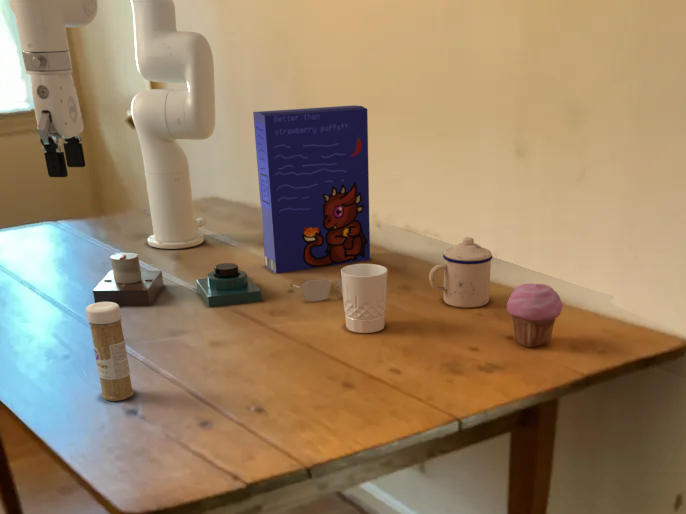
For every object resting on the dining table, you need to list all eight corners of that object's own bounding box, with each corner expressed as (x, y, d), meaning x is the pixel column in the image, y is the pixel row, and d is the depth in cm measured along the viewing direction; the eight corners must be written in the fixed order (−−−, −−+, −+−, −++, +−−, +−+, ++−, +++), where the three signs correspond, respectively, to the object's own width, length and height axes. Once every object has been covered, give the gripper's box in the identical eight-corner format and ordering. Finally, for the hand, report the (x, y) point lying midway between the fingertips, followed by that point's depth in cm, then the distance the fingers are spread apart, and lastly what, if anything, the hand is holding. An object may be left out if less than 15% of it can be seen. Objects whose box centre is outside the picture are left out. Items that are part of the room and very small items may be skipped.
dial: (118, 276, 173) (113, 251, 171) (144, 276, 174) (140, 250, 171) (111, 284, 169) (107, 258, 167) (138, 283, 169) (134, 258, 167)
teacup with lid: (478, 292, 176) (481, 230, 169) (497, 305, 168) (501, 242, 162) (420, 298, 172) (421, 235, 166) (437, 312, 165) (439, 247, 159)
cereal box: (357, 253, 199) (354, 104, 183) (370, 259, 195) (367, 107, 179) (265, 266, 190) (253, 110, 174) (276, 273, 186) (264, 114, 170)
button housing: (197, 289, 177) (194, 268, 175) (247, 284, 180) (245, 263, 178) (209, 307, 167) (206, 285, 165) (262, 301, 170) (260, 280, 168)
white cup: (394, 322, 160) (393, 265, 155) (378, 337, 154) (377, 278, 148) (352, 317, 162) (351, 261, 157) (335, 331, 156) (333, 273, 151)
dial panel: (113, 286, 178) (110, 270, 177) (163, 285, 179) (161, 269, 177) (95, 306, 167) (92, 289, 166) (149, 306, 168) (147, 289, 166)
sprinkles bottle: (96, 396, 132) (78, 306, 125) (122, 387, 135) (106, 298, 128) (114, 404, 129) (97, 313, 122) (140, 395, 132) (125, 305, 125)
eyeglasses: (300, 303, 169) (298, 281, 167) (289, 294, 176) (287, 273, 174) (370, 295, 174) (369, 273, 172) (356, 286, 180) (355, 266, 179)
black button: (213, 274, 173) (212, 264, 172) (236, 272, 174) (235, 262, 173) (217, 280, 169) (216, 270, 168) (241, 278, 171) (240, 268, 169)
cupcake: (523, 355, 146) (528, 294, 141) (495, 339, 153) (498, 280, 148) (568, 347, 150) (574, 287, 145) (538, 331, 156) (543, 273, 151)
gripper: (52, 67, 144) (73, 181, 153) (86, 59, 159) (103, 163, 168) (5, 67, 144) (29, 180, 153) (43, 59, 159) (63, 163, 168)
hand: (67, 171), depth 161 cm, fingers open, 9 cm apart
